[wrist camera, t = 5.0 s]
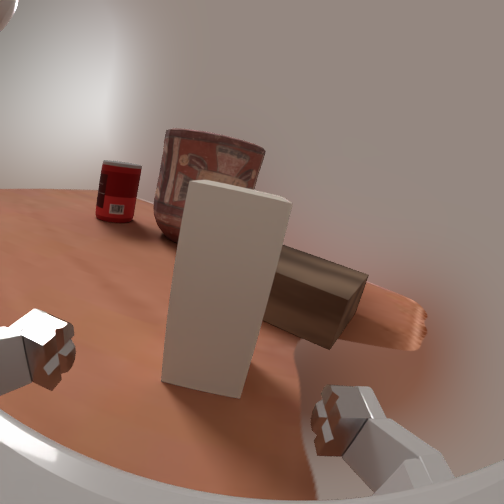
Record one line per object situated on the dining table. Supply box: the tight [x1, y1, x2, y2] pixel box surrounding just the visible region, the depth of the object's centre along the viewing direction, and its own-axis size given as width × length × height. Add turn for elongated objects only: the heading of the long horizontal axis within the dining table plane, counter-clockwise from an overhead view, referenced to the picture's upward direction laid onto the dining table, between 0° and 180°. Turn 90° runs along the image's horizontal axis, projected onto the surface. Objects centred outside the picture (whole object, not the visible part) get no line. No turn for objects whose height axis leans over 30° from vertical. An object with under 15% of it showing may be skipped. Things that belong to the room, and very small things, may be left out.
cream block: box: [161, 180, 293, 399], centre depth 18 cm, size 5×5×12 cm
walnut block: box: [263, 245, 368, 350], centre depth 32 cm, size 12×12×5 cm
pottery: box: [154, 128, 265, 243], centre depth 50 cm, size 18×18×18 cm
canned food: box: [96, 160, 142, 223], centre depth 52 cm, size 8×8×11 cm
